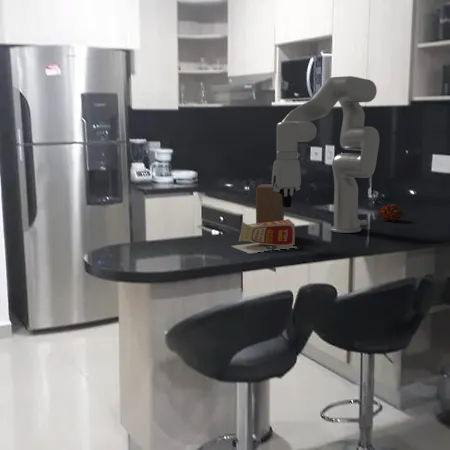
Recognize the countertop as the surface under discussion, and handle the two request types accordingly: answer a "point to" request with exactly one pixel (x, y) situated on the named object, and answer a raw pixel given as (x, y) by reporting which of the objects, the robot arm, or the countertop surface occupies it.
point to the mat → (259, 247)
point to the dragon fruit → (390, 212)
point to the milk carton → (269, 233)
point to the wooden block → (268, 204)
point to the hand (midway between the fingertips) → (286, 206)
